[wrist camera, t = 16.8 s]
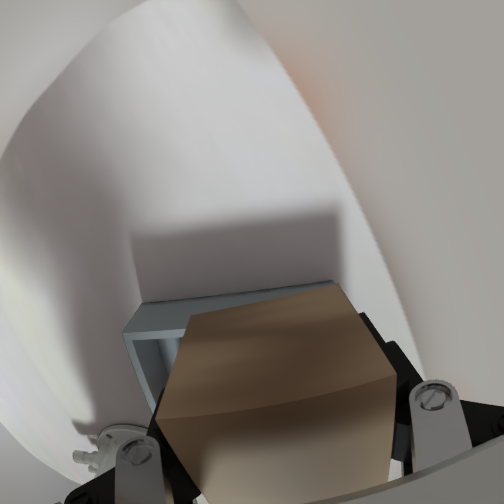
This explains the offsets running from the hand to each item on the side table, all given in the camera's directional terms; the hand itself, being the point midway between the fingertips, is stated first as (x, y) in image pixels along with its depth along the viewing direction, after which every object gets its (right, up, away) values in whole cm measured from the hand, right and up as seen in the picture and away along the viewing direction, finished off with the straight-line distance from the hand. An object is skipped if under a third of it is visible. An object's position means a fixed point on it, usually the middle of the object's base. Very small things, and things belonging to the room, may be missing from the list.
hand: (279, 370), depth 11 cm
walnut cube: (0, 0, +1) cm, 1 cm away
